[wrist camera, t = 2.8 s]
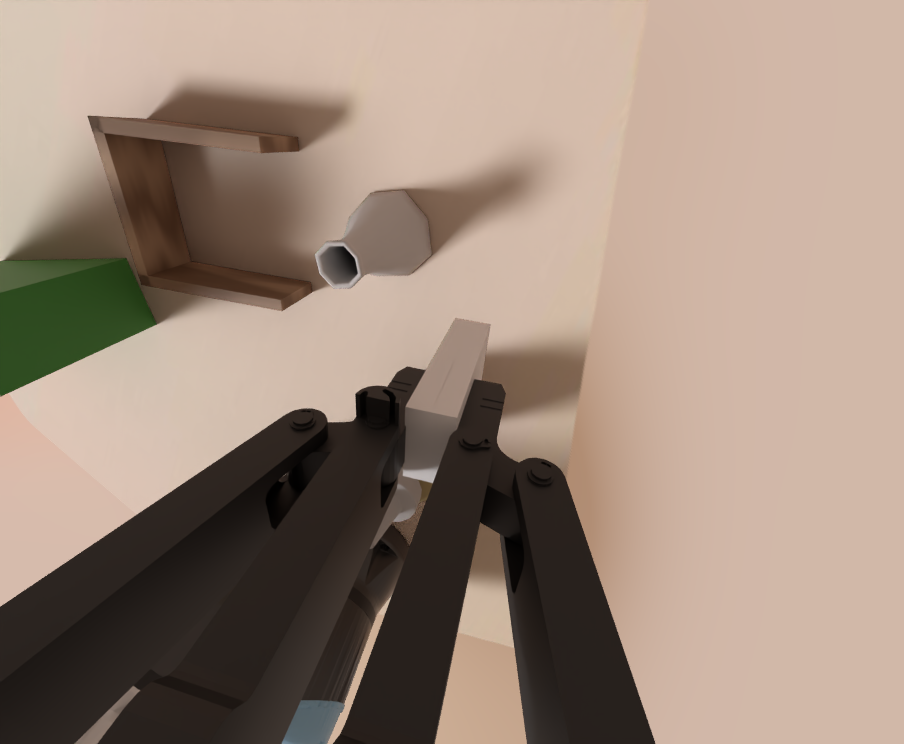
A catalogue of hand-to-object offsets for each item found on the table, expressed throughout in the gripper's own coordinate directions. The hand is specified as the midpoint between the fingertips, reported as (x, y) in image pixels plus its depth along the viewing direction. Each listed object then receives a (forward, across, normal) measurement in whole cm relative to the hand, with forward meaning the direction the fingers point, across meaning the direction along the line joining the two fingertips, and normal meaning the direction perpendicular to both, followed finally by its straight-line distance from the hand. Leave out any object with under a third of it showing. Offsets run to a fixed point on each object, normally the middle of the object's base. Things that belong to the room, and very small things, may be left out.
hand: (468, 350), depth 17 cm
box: (+18, +25, 0) cm, 31 cm away
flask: (+19, +10, 0) cm, 21 cm away
